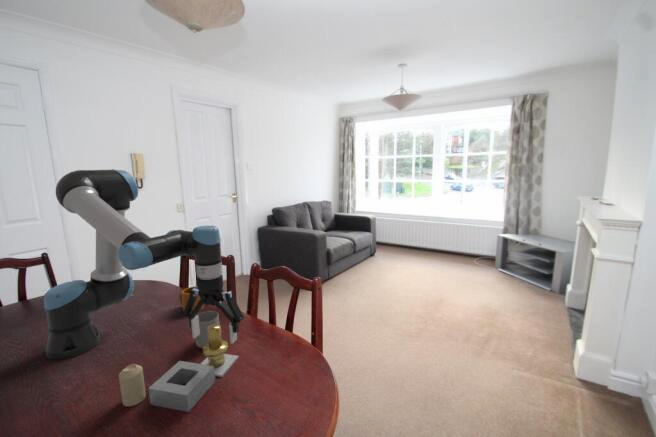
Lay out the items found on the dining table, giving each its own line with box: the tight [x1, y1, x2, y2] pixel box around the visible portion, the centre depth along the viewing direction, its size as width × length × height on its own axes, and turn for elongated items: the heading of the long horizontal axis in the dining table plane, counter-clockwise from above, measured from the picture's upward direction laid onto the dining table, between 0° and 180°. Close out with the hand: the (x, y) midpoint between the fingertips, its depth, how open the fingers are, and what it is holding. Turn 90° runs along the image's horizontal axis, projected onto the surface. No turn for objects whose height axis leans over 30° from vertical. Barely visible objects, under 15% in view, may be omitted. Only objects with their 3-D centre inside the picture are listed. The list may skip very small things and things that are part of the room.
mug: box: [178, 286, 205, 312], centre depth 139 cm, size 9×12×9 cm
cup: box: [195, 310, 220, 349], centre depth 111 cm, size 8×8×10 cm
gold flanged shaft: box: [202, 323, 229, 368], centre depth 97 cm, size 8×8×13 cm
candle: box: [118, 362, 147, 408], centre depth 83 cm, size 6×6×10 cm
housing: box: [148, 360, 216, 413], centre depth 86 cm, size 12×12×5 cm
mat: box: [200, 353, 239, 378], centre depth 98 cm, size 10×10×1 cm
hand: (214, 338), depth 97 cm, fingers open, 13 cm apart
